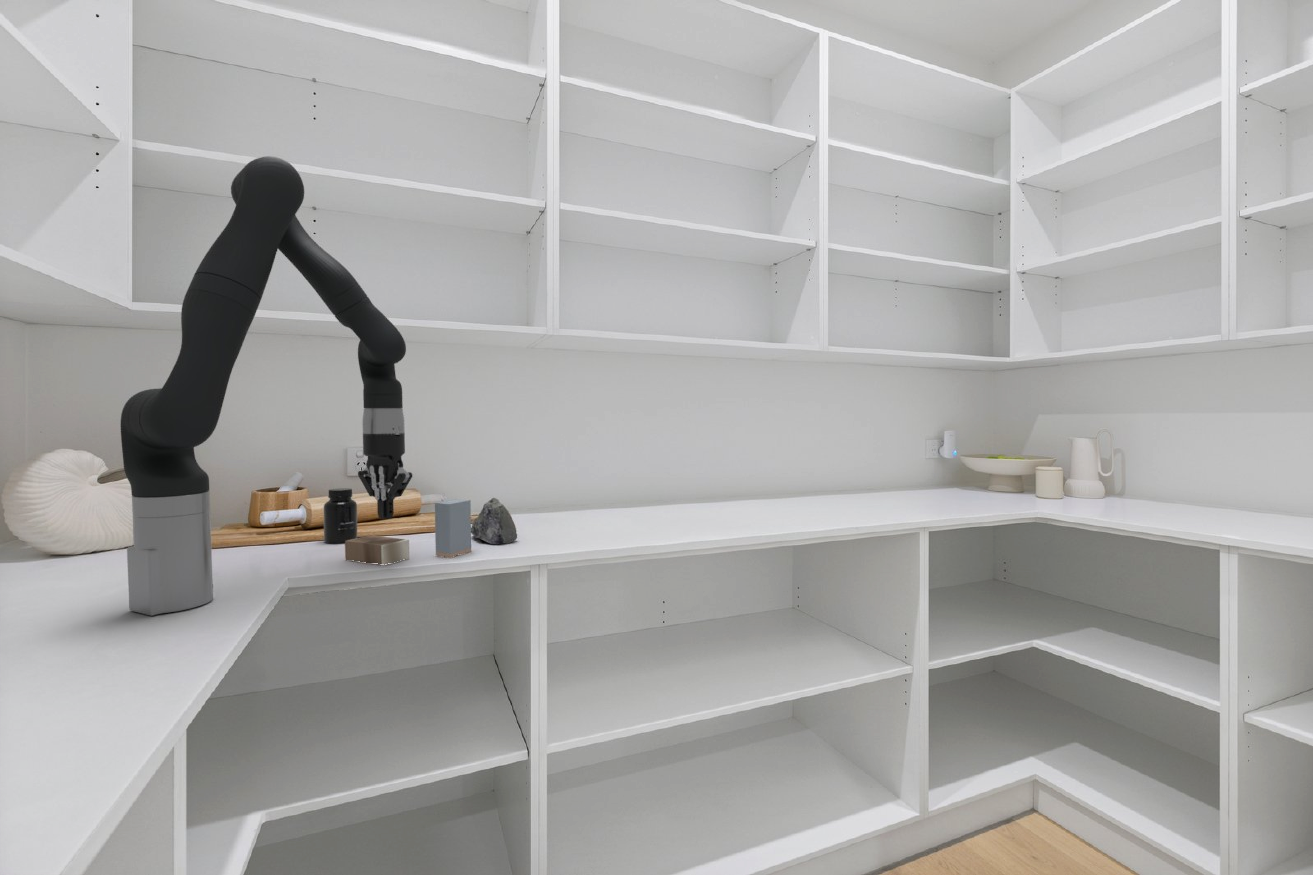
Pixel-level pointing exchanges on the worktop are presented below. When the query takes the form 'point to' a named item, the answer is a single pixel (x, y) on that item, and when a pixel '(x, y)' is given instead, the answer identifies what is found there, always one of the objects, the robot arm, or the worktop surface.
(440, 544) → the slate block
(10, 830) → the worktop surface
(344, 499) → the supplement bottle
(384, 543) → the walnut block
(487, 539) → the mineral rock
